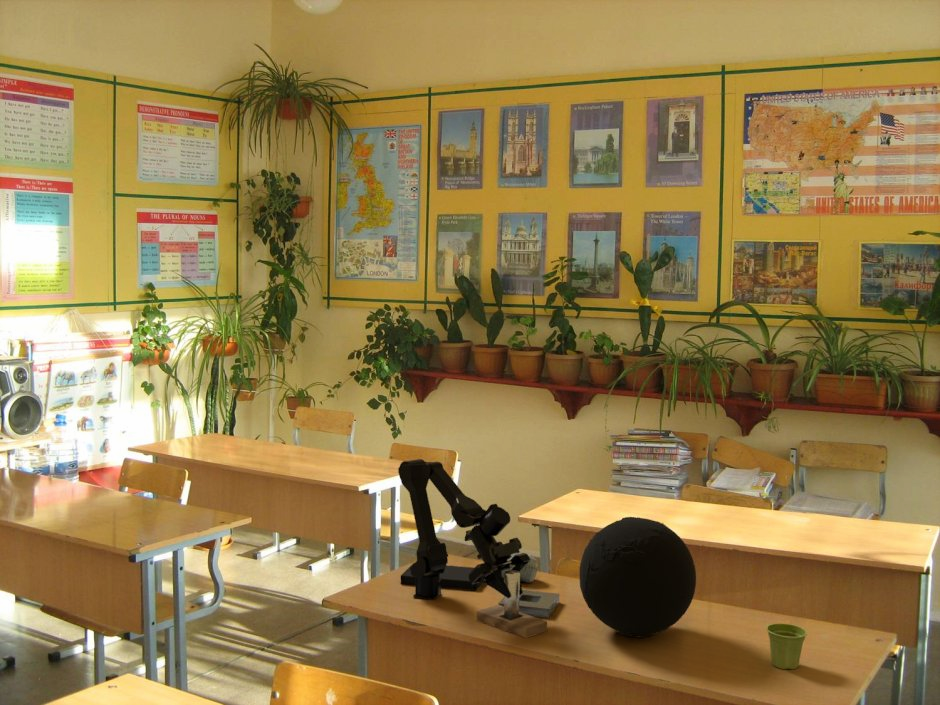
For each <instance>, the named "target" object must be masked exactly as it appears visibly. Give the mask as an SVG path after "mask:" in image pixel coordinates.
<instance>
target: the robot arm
mask: <svg viewBox="0 0 940 705" xmlns="http://www.w3.org/2000/svg"><path fill="white" fill-rule="evenodd" d="M397 469H398V470H397V472H398V475H399V476H398V477H399V479H400V482H401V484H402V486H403V487H404V489H406V490H407V491H408V494H409V497H410V502H411V508H412V512H413V517H414V522H415V527H416V532H417V535H418V541H419V543H418V546H417V549H416V553H415V554H416V561H415V562H413V563H414V564H413V563H412V564H413V565H412V564H411V565H412V567H411V568H410V571H411V575H412V576H415V577H416V584H415V585H414V586H415V588H414V590H415V593H414V594H413V598H418V599H425V600H426V599H427V600H436V599H437V598H438V597H439V596H440V595H441V594H442V588H441V579H440V574H441V573H442V574H443V573H444V570H445V567H446V565H447V564H448V562H449V560H448V558H449V554H448V552H447V545H446V543H445V542H441V541H440V540H439V539H438V538H437V534H436V529H435V528H436V527H435V525H434V520H433V515H432V509H431V505H430V501H429V496H428V491H427V487H428V483H429V481H431V483H432V484H433V485H434V487H435V488H436V490H437V491H438V492H439V493H440V495H441V496H442V497H443V499H444V500H445V501H446V502H447V504H448V505H449V507H450V511H451V513H450V514H451V516H452V518H453V519H454V521H455V523H456V525H457V526H458V527H459V528H462V529H463V528H465V529H466V528H470V527H472V528H471V529H469V530H466V531H465V535H464V541H465V542H468V541H469V542H470V541H471V542H472V543H473V546H474V548H475V549H476V551H477V552H478V554H477V555H476V557H477V559H478V560H481V559H482V561H483V562H482V563H478V564H477V565H476V566H475V567H473V568H474V569H473V570H472V571H471V572H470V573H469V580H470V582H471V583H472V584H476V583H479V582H480V580H481V578H480V577H481V576H484V579H485V580H484V581H483V583H482V584H483V585H486V586H488V587H490V588H492V589H493V590H495V591H496V592H498V593H500V594H501V595H503V597H504V596H505V597H507V598H510V597H511V594H510V592H509V590H508V588H507V586H506V584H505V582H504V579H505V576H504V578H502V571H503V570H504V571H508V570H515V571H519V572H520V571H521V570H522V569H523V568H524V567H525V566H526V565H527V564H528V563H529V562H530V561H531V559H530V558H529V556H530V555H528V553H525V552H523V553H522V552H521V553H520V550H521V549H522V547H523V545H522V542H521V540H520V539H519V538H518V537H514V538H510V539H509V540H508V542H506V543H504V544H503V542H501V541H497V540H496V538H495V537H497V536H499V534H500V533H501V532H502V531H503V530H504V529H505V528H506V527H507V526H508V525H509V524H510V522H511V516H510V513H509V512H508V511H507V510H505V508H502V507H501V506H498V504H497V503H493V504H490V505H489V506H488V508H487V509H484V508H483V507H482V506H481V504H479V503H478V502H477V501H476V500H474V499H472V498H471V497H469V496H467V495H465V493H463V491H462V490H461V489H460V488H459V486H458V485H457V483H456V482H455V481H454V480H453V478H452V477H451V476H450V475H449V473H448V472H447V471H446V470H445V468H444V465H443V463H442V462H440V461H425V460H424V459H422V458H417V459H410V460H404V461H401V463H400V464H399V467H398V468H397ZM514 553H520V554H517V555H515V556H514V557H513V558H512V559H511V560H510V561H507V560H508V559H510V558H511V557H512V556H511V554H514ZM503 566H504V567H503ZM521 582H522V581H520V590H519V595H521V594H522V593H523V592H522V590H523V588H522V583H521Z"/></svg>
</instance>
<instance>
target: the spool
mask: <svg viewBox="0 0 940 705" xmlns="http://www.w3.org/2000/svg"><path fill="white" fill-rule="evenodd" d="M517 554H521V553H514V554H511V556H512V557H511V558H510V559H508V560H507V561H510V560H511V559H512V558H513V557H514V556H515V555H517ZM528 556H529V558H530V559H531V561H530V562H529V563H528V564H527V565H526V566H525V567H524V568H523V569H522V570H521V571H520V581H521V582H522V583H523V582H524V583H528V584H529V583H532V582H534V581H535V579H536V577H537V573H538V568H539V564H538V561H537V559H536V558H535V557H532V556H531V555H528ZM503 567H504V566H503ZM504 576H505V571H504V570H503V571H502V578H503V579H505V578H504Z"/></svg>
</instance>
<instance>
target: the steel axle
mask: <svg viewBox="0 0 940 705" xmlns="http://www.w3.org/2000/svg"><path fill="white" fill-rule="evenodd" d="M503 580H504V582H505V584H506V586H507V588H508V590H509V592H510V594H511V597H510V598H507V597H505V596H504V595H503V598H504V618H505V619H508V620H513V619H516V618H519V590H520V572H519V571H515V570H508V571H505V578H503Z"/></svg>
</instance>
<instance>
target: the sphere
mask: <svg viewBox="0 0 940 705" xmlns="http://www.w3.org/2000/svg"><path fill="white" fill-rule="evenodd" d="M579 564H580V565H579V570H578V571H579V573H578V574H579V587H580V592H581V594H582V598H583V599H584V601H585V603H586V605H587V608H589V610H590V611H591V612H592V614H594V616H595V617H596V618H598V621H601V622H602V623H603V624H604V625H606V626H607V627H608V628H610V629H613V630H614V631H616V632H619V633H620V634H622V635H623V636H624V635H626V636H629V637H633V638H642V637H643V638H645V637H649V636H650V637H651V636H652V635H655V634H658V633H661V632H663V631H665V630H667V629H669V628H670V627H672V626H673V625H675V624H676V623H678V622H679V621H680V619H681V618H682V617H683V616H684V615H685V614H686V612H687V611H688V610H689V608H690V606H691V603H692V602H693V598H694V596H695V592H696V588H697V571H696V565H695V562H694V559H693V555H692V554H691V551H690V550H689V547H688V546H687V545H686V543H685V542H684V541H683V539H682V538H681V537H680V536H679V535H678V534H677V533H676V532H675V531H674V530H673V529H671V528H669V527H668V526H667V525H666V524H664V522H660V521H657V520H653V519H649V518H644V517H639V516H637V517H635V516H627V517H622V518H621V519H619V520H615V521H614V522H611V523H609V524H607V525H606V526H604V527H603V528H602V529H601V530H599V531H597V532H596V533H595V534H594V535H593V537H592V538H591V539H589V542H588V544H587V545H586V546H585V548H584V550H583V554H582V556H581V560H580V562H579Z"/></svg>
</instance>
